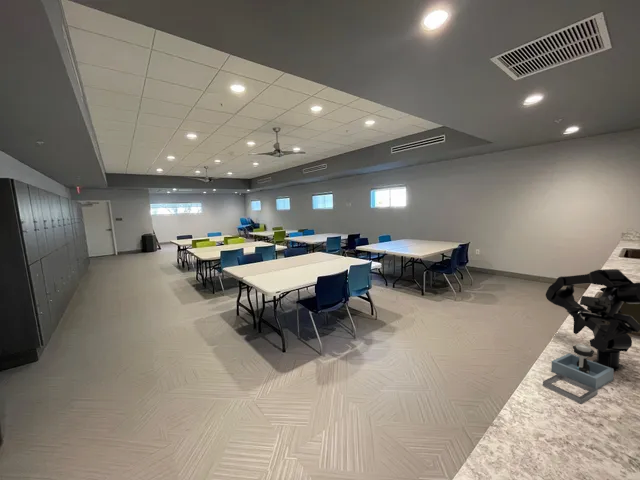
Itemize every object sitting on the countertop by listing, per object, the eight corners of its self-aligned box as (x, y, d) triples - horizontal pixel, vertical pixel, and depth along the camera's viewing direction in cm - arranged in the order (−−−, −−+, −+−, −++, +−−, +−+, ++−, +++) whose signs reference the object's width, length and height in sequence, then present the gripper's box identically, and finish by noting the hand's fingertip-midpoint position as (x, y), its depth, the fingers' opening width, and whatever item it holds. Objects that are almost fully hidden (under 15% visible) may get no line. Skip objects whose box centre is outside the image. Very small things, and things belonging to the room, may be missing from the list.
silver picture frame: (559, 377, 94) (559, 373, 94) (597, 393, 85) (597, 389, 85) (542, 385, 90) (542, 381, 90) (581, 404, 81) (581, 399, 81)
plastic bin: (568, 363, 102) (569, 353, 102) (613, 380, 91) (613, 368, 91) (551, 371, 97) (551, 361, 97) (595, 390, 87) (596, 378, 86)
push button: (588, 381, 90) (589, 353, 90) (567, 373, 95) (569, 346, 94) (595, 374, 94) (596, 347, 93) (575, 367, 98) (576, 341, 97)
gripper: (567, 285, 105) (546, 316, 103) (627, 290, 87) (604, 328, 84) (586, 303, 106) (567, 335, 103) (651, 312, 87) (628, 351, 85)
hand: (588, 336), depth 94 cm, fingers open, 9 cm apart
